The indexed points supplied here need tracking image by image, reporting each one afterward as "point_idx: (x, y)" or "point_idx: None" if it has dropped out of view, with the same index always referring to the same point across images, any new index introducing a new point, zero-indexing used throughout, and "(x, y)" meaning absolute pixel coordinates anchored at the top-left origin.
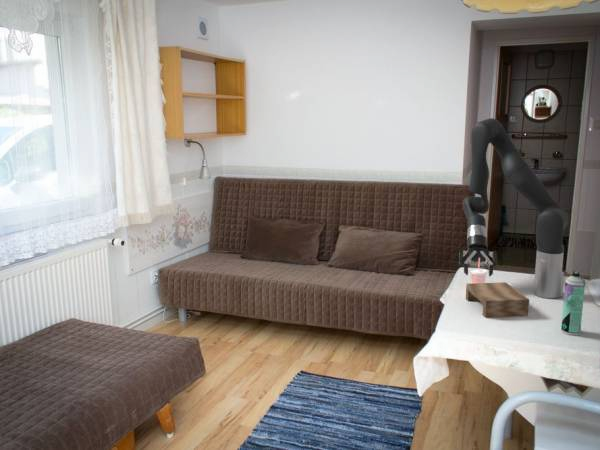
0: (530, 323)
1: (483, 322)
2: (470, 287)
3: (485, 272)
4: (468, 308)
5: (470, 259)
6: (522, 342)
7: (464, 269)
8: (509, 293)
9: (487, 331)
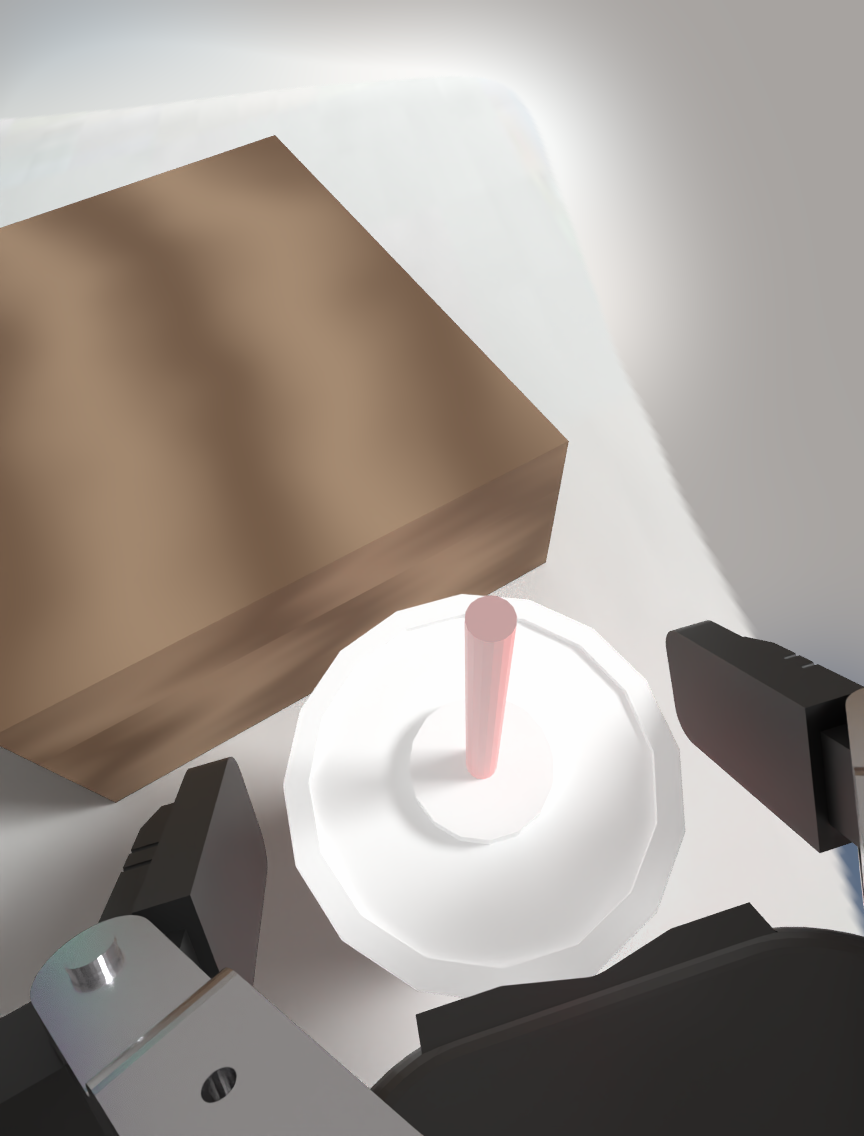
0: None
1: None
2: (481, 355)
3: (313, 693)
4: None
5: (855, 779)
6: (109, 115)
7: (790, 655)
8: (36, 337)
9: None
